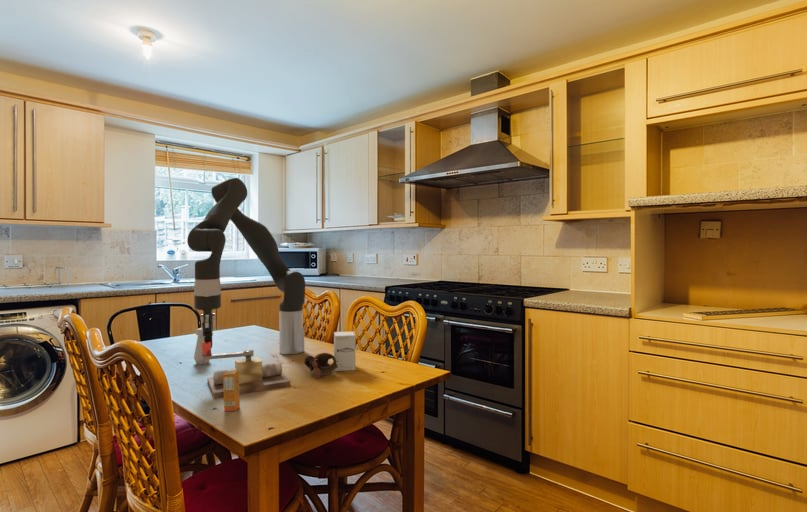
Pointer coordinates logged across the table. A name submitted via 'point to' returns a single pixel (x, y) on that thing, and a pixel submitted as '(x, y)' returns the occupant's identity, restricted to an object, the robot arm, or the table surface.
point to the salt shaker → (199, 348)
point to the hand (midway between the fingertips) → (208, 348)
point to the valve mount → (250, 377)
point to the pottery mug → (321, 364)
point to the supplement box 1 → (231, 391)
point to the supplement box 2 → (344, 350)
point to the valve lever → (207, 353)
